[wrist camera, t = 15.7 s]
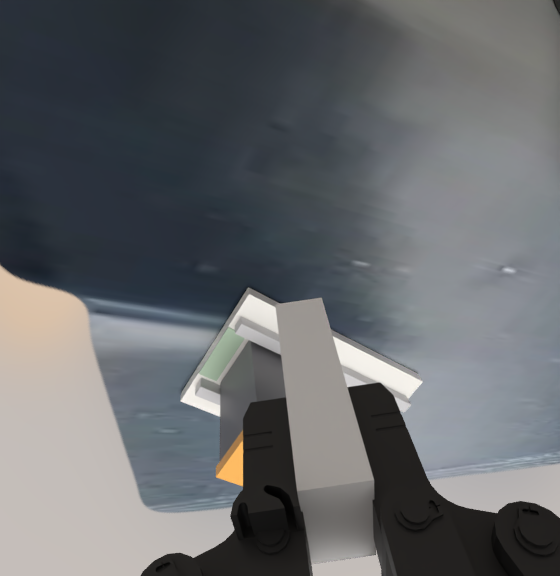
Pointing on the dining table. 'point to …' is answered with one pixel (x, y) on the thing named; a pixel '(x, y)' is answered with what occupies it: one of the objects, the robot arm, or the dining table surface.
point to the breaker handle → (245, 402)
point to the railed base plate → (264, 331)
